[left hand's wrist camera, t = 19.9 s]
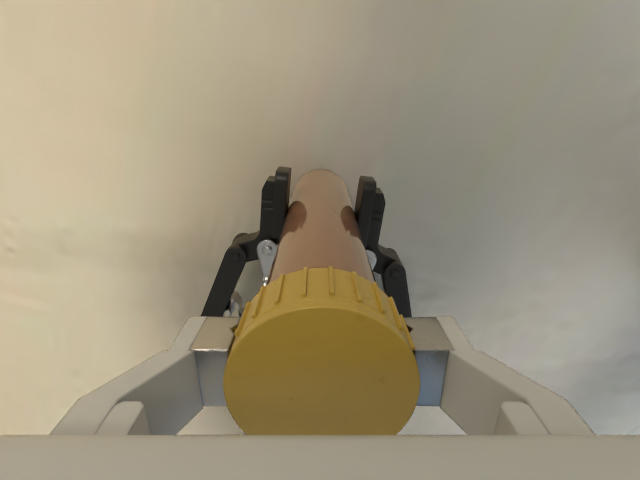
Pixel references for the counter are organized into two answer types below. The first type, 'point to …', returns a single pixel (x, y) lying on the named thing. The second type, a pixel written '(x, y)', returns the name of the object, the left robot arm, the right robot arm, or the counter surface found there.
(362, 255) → the bottle
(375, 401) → the lid
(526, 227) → the counter surface
